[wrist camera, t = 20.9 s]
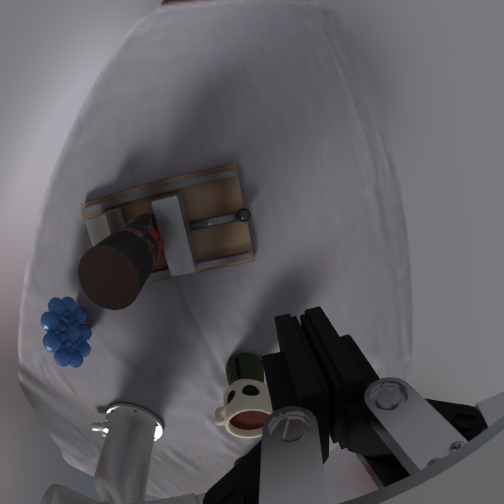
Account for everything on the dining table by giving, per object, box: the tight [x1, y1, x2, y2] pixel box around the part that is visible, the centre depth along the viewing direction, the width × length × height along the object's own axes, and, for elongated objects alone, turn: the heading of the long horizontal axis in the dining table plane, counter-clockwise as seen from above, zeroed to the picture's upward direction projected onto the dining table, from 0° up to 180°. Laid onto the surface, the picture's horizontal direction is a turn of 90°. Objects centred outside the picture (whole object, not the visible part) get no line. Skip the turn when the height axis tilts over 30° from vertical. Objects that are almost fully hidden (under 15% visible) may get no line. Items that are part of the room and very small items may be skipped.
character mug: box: [215, 354, 273, 438], centre depth 39 cm, size 11×7×13 cm, turn 114°
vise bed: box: [81, 164, 255, 283], centre depth 34 cm, size 22×13×6 cm, turn 100°
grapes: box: [41, 297, 92, 367], centre depth 34 cm, size 12×7×12 cm, turn 5°
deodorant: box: [78, 213, 164, 310], centre depth 29 cm, size 6×6×15 cm
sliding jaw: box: [151, 191, 251, 277], centre depth 34 cm, size 11×9×5 cm
